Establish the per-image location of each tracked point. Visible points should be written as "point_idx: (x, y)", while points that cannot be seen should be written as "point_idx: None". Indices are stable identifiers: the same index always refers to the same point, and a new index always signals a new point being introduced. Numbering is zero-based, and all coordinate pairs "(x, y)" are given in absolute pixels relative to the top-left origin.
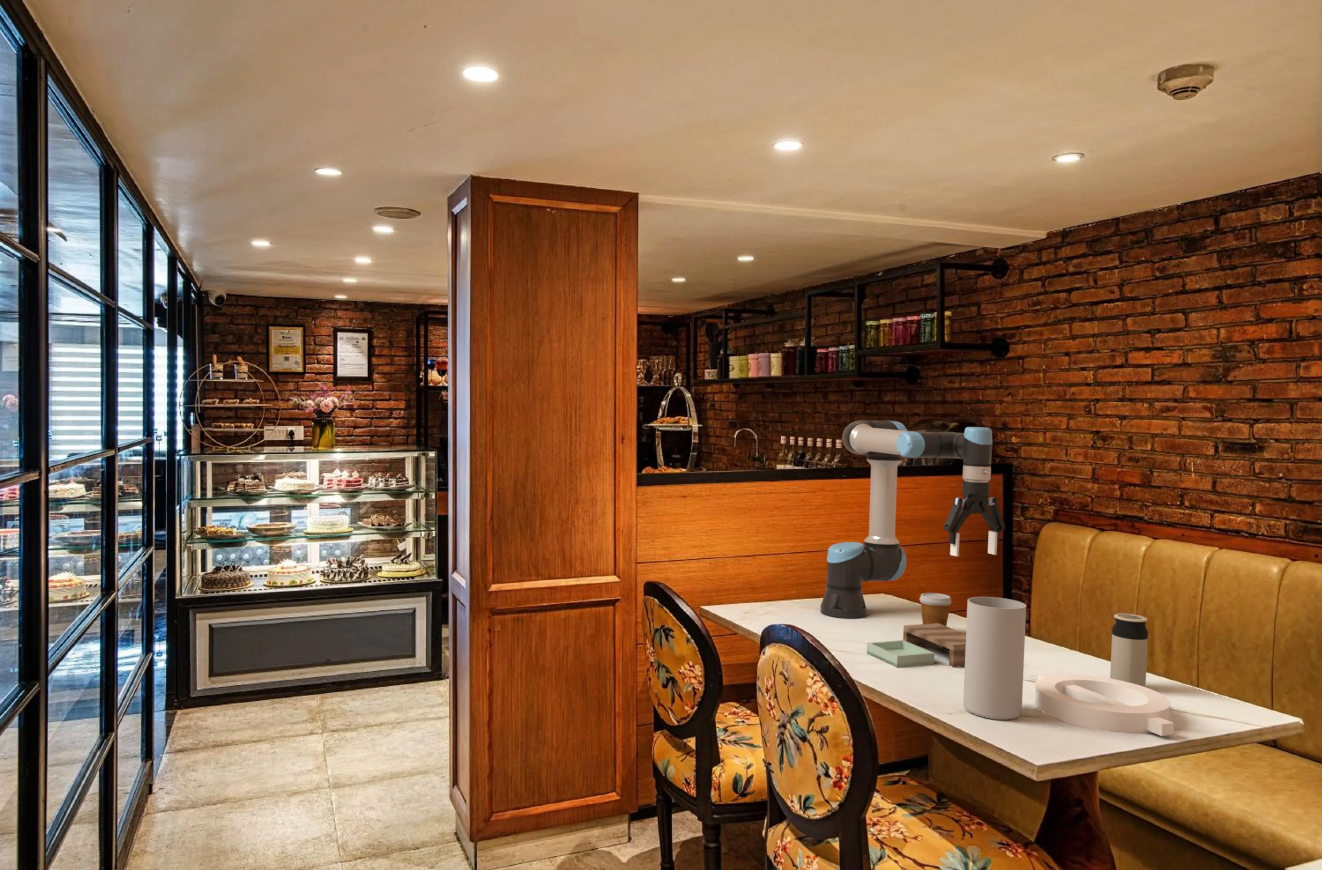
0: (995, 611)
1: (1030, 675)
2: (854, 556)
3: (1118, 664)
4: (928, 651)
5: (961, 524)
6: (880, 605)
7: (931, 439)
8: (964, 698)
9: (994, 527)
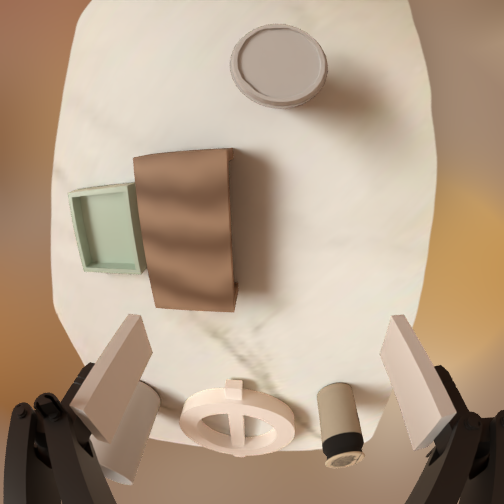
0: None
1: (259, 344)
2: None
3: (319, 417)
4: (135, 264)
5: (104, 491)
6: None
7: None
8: None
9: (424, 472)
